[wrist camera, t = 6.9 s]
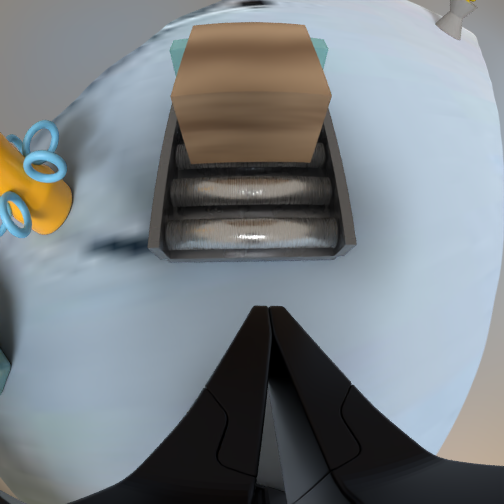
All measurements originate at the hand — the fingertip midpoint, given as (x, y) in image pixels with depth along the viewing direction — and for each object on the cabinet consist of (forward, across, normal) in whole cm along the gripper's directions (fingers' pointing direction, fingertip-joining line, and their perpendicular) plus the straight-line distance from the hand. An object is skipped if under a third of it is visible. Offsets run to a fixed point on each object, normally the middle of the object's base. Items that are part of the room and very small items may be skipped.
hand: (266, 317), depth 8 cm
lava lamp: (+59, -55, -46) cm, 93 cm away
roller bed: (+18, 0, -1) cm, 18 cm away
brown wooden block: (+18, +1, -6) cm, 19 cm away
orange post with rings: (+17, +21, +2) cm, 27 cm away
